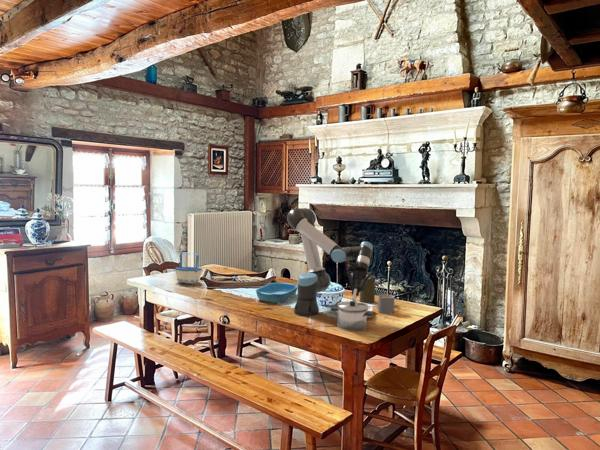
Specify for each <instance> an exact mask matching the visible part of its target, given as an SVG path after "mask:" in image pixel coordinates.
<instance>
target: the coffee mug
mask: <svg viewBox="0 0 600 450" xmlns="http://www.w3.org/2000/svg"><path fill="white" fill-rule="evenodd" d="M377 298H378V299H377V301H378V302H377V312H378V313H380V314H383V315H392V314H395V295H393V294H392V295H391V294H386V293H385V294H383V293H382V294H378V297H377Z"/></svg>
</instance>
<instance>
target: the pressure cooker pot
mask: <svg viewBox="0 0 600 450" xmlns="http://www.w3.org/2000/svg"><path fill="white" fill-rule="evenodd" d="M330 311H332V312H337V311H338V314H336V315H337V317H336V319H337V320H336V326H337V328H338V329H341V330H345V331H349V332H350V331H351V332H353V331H354V332H358V331H364V330H365V329H367V323H368V322H367V320H368V318H367V316H372V317H373V316H374V315H375V310H372V311H362V312H351V311H344V310H341V309H338V308H337V305H333V306H332V307H330Z"/></svg>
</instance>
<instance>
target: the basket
mask: <svg viewBox="0 0 600 450" xmlns="http://www.w3.org/2000/svg"><path fill="white" fill-rule="evenodd" d="M183 254H185V255H190V253H189V252H185V251H184V252H183V251H182V252H180V253H179V267H178V266H176V267H175V268H174V269H175V275H176V281H177V282H178V283H182V284H183V283H184V284H187V285H188V284H193V285H194V284H198V283H199V280H200V277H201V274H202V270H203V268H202V267H198V265H199V257H200V256H199V254H197V253H194V255H195V256H196V257H195V258H196V260H195V267H194V266H183Z"/></svg>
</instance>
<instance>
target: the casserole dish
mask: <svg viewBox="0 0 600 450" xmlns="http://www.w3.org/2000/svg"><path fill="white" fill-rule="evenodd" d="M297 292H298V284H294V283H289V282H271V283H268V284H265V285H263V286H261V287H258V288H257V289H255V293H256V296H257V298H258V300H260V301H262V302H270V303H276V302H278V303H282V302H285V301H287V300H288V298H289V299H290V298H292V297H293V296H295V295H296V293H297Z"/></svg>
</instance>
